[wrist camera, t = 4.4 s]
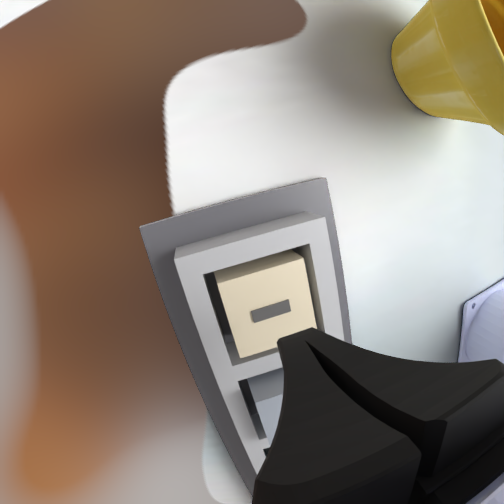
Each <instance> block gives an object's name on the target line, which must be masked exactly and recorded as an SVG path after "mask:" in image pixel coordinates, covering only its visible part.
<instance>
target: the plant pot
mask: <svg viewBox="0 0 504 504" xmlns="http://www.w3.org/2000/svg"><path fill="white" fill-rule="evenodd" d="M391 60H392V66H393V70H394V73H395V76H396V78H397V80H398V83H399V84H400V86H401V88H402V90H403V91H404V93H405V94H406V96H407V97H408V98H409V99H410V100H411V102H412V103H413V104H414V105H416V106H417V107H418V108H419V109H421V110H422V111H424V112H425V113H427V114H429V115H432V116H435V117H441V118H449V119H456V120H463V121H470V122H476V123H481V124H487V125H490V126H491V127H493V128H494V129H495V130H496V131H498V132H499V133H501V134H502V135H504V0H429V1H428V2H427V3H426V4H425V5H424V6H423V7H422V8H421V10H420V11H419V12H418V13H417V14H416V15H415V16H414V17H413V19H412V20H411V21H410V22H409V23H408V24H407V25H406V26H405V28H404V29H403V30H402V31H401V32H400V33H399V34H398V35H397V36H396V38H395V39H394V41H393V44H392V49H391Z"/></svg>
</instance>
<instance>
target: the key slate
mask: <svg viewBox="0 0 504 504" xmlns="http://www.w3.org/2000/svg"><path fill="white" fill-rule="evenodd" d="M247 381H248V384H249V387H250V390H251V393H252V396H253V399H254V402H255V405H256V407H257V410H258V413H259V416H260V419H261V422H262V425H263V428H264V431H265V433H266V436H267V439H268V442H269V445H270V446H271V443H272V440H273V438H274V435H275V432H276V428H277V425H278V420H279V416H280V411H281V405H282V398H283V386H284V370H283V367H281V368H278V369H275V370H272V371H269V372H266V373H263V374H260V375H256V376H253V377H250V378H247Z"/></svg>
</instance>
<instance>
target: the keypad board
mask: <svg viewBox="0 0 504 504" xmlns="http://www.w3.org/2000/svg"><path fill="white" fill-rule="evenodd" d="M139 229H140V232H141V235H142V238H143V242H144V245H145V248H146V251H147V254H148V258H149V260H150V264H151V267H152V270H153V273H154V276H155V279H156V282H157V284H158V287H159V290H160V293H161V296H162V299H163V301H164V304H165V307H166V310H167V312H168V315H169V318H170V320H171V323H172V325H173V328H174V331H175V334H176V336H177V339H178V341H179V344H180V346H181V349H182V351H183V354H184V356H185V358H186V361H187V363H188V366H189V368H190V370H191V373H192V375H193V378H194V380H195V382H196V385H197V387H198V389H199V391H200V394H201V396H202V398H203V400H204V403H205V405H206V407H207V409H208V411H209V413H210V416H211V418H212V420H213V422H214V424H215V426H216V428H217V430H218V432H219V434H220V436H221V438H222V440H223V442H224V444H225V446H226V448H227V450H228V452H229V454H230V456H231V458H232V460H233V462H234V464H235V466H236V468H237V470H238V472H239V473H240V475H241V477H242V479H243V481H244V483H245V484H246V486H247V488H248V490H249V492H250V493H251V495H252V497H253V490H254V483H255V478H256V476H257V474H258V472H259V470H260V468H261V466H262V464H263V462H264V460H265V458H266V456H267V454H268V451H269V449H270V445H269V442H268V439H267V436H266V433H265V431H264V428H263V425H262V422H261V419H260V416H259V413H258V410H257V407H256V405H255V402H254V399H253V396H252V393H251V390H250V387H249V384H248V381H247V378H250V377H253V376H256V375H260V374H263V373H266V372H269V371H272V370H275V369H278V368H281V367H283V366H282V362H281V358H280V354H279V350H278V347H275V348H272V349H269V350H266V351H263V352H260V353H257V354H253V355H250V356H247V357H243V358H240V356H239V353H238V350H237V347H236V344H235V340H234V337H233V334H232V331H231V328H230V324H229V321H228V318H227V315H226V311H225V308H224V305H223V302H222V298H221V295H220V292H219V288H218V285H217V281H216V278H215V274H214V271H216V270H220V269H223V268H227V267H230V266H234V265H237V264H241V263H244V262H247V261H251V260H254V259H258V258H261V257H265V256H268V255H271V254H275V253H278V252H282V251H285V250H288V249H291V250H293V251H294V252H296V253H297V254H299V255H300V256H301V257H303V258H304V263H305V268H306V273H307V278H308V283H309V288H310V294H311V299H312V305H313V310H314V316H315V321H316V327H317V329H318V330H320V331H322V332H324V333H327V334H329V335H331V336H333V337H335V338H338V339H340V340H342V341H345V342H347V343H350V344H352V338H351V329H350V320H349V312H348V304H347V296H346V289H345V282H344V275H343V268H342V261H341V255H340V249H339V243H338V237H337V231H336V225H335V220H334V214H333V209H332V204H331V199H330V194H329V189H328V184H327V179H326V178H318V179H314V180H309V181H305V182H301V183H297V184H292V185H288V186H284V187H280V188H276V189H272V190H268V191H264V192H260V193H256V194H252V195H248V196H244V197H241V198H237V199H233V200H229V201H226V202H222V203H218V204H215V205H211V206H207V207H204V208H200V209H197V210H193V211H190V212H186V213H183V214H179V215H176V216H172V217H169V218H166V219H162V220H159V221H156V222H152V223H149V224H146V225H142V226H140V228H139Z"/></svg>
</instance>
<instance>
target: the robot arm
mask: <svg viewBox="0 0 504 504" xmlns="http://www.w3.org/2000/svg"><path fill="white" fill-rule="evenodd" d="M277 346H278V350H279V354H280V358H281V362H282V366H283V370H284V386H283V398H282V405H281V411H280V416H279V420H278V425H277V428H276V432H275V435H274V438H273V440H272V443H271V446H270V449H269V451H268V454H267V456H266V458H265V460H264V462H263V464H262V466H261V468H260V470H259V472H258V474H257V476H256V478H255V483H254V490H253V499H252V504H504V279H503V280H501V281H500V282H498V283H497V284H495V285H494V286H492V287H490V288H489V289H487V290H486V291H484V292H482V293H481V294H479V295H478V296H476V297H474V298H473V299H471V300H469V301H467V302H466V303H465V305H464V309H463V322H462V333H461V342H460V351H459V358H458V363H436V362H423V361H413V360H407V359H401V358H396V357H391V356H387V355H383V354H379V353H376V352H373V351H369V350H366V349H363V348H360V347H358V346H355V345H352V344H350V343H347V342H345V341H342V340H340V339H338V338H335V337H333V336H331V335H329V334H327V333H324V332H322V331H320V330H318V329H316V328H313V327H311V328H308V329H305V330H302V331H299V332H296V333H294V334H291V335H288V336H285V337H282V338H279V339H278V341H277Z"/></svg>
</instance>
